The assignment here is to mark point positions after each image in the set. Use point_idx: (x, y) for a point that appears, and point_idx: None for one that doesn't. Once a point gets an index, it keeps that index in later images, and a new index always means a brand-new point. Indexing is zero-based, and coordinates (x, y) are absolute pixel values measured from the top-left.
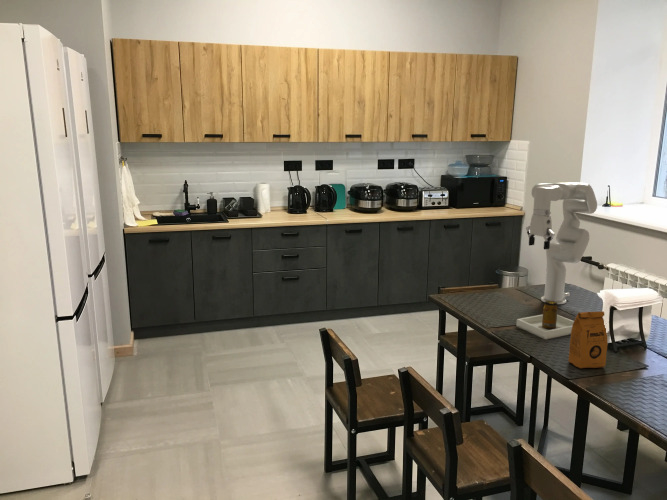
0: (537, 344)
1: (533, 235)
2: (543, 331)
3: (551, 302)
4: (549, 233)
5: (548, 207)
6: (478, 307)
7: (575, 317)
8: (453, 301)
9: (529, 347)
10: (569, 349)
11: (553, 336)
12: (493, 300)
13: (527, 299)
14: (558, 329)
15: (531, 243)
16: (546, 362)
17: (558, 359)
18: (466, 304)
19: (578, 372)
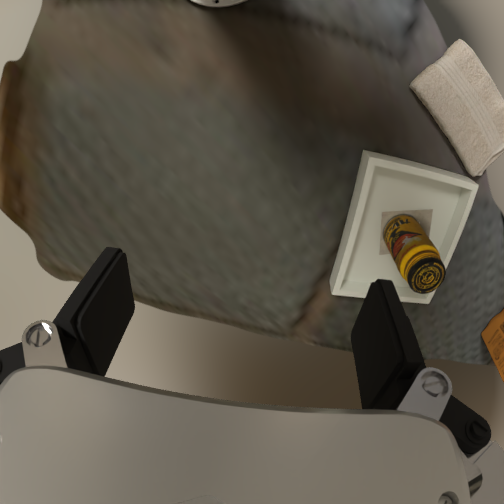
0: (419, 321)
1: (59, 357)
2: (420, 301)
3: (428, 276)
4: (409, 452)
5: None
6: (150, 246)
7: (414, 89)
8: (86, 262)
9: None
10: (489, 351)
11: None
12: (110, 156)
13: (153, 36)
14: (445, 269)
15: (123, 304)
16: (453, 356)
17: (466, 337)
18: None
19: None
